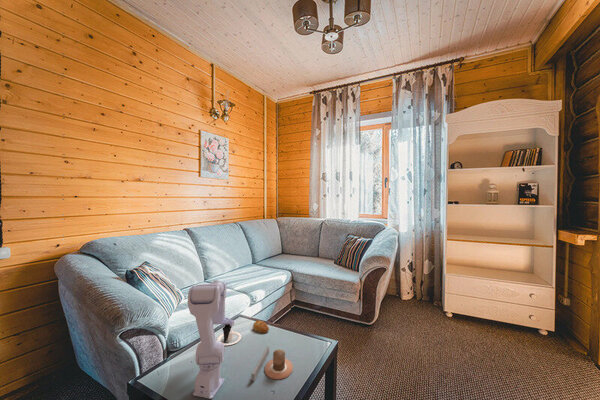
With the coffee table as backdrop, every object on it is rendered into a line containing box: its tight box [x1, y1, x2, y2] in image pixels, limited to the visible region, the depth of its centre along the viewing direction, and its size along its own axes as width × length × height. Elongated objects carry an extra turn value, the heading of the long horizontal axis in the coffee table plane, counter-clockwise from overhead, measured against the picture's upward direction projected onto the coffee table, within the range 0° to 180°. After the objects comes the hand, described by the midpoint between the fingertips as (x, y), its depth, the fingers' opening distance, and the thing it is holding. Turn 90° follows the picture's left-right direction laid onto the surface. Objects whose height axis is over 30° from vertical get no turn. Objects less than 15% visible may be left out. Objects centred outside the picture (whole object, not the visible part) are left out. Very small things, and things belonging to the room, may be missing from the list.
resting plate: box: [264, 358, 294, 380], centre depth 105 cm, size 12×12×1 cm
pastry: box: [252, 319, 270, 334], centre depth 135 cm, size 9×7×4 cm
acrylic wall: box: [251, 345, 270, 382], centre depth 106 cm, size 18×1×3 cm, turn 168°
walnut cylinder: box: [272, 349, 286, 371], centre depth 105 cm, size 5×5×6 cm
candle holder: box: [216, 328, 242, 346], centre depth 126 cm, size 12×12×4 cm
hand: (218, 339), depth 109 cm, fingers open, 7 cm apart
